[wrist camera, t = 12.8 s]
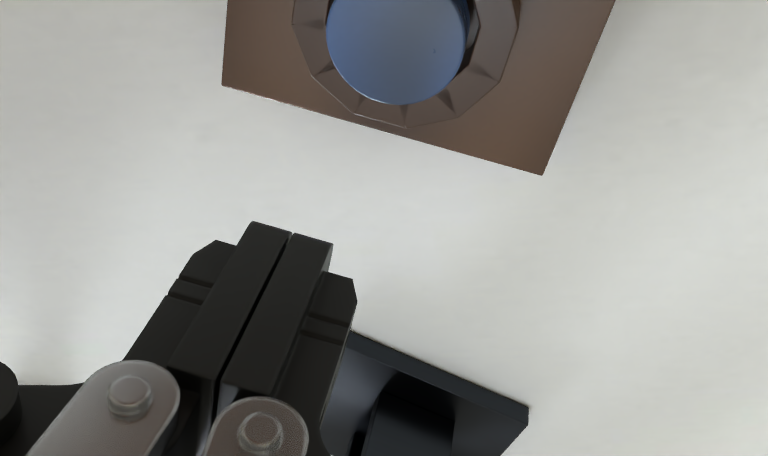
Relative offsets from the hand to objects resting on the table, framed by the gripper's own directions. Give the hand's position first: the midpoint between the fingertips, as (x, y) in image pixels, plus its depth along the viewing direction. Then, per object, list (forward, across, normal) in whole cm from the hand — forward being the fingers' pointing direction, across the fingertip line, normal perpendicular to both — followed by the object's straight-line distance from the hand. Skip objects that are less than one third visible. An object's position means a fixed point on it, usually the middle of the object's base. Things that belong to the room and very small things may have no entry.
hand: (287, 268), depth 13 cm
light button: (+13, 0, 0) cm, 13 cm away
